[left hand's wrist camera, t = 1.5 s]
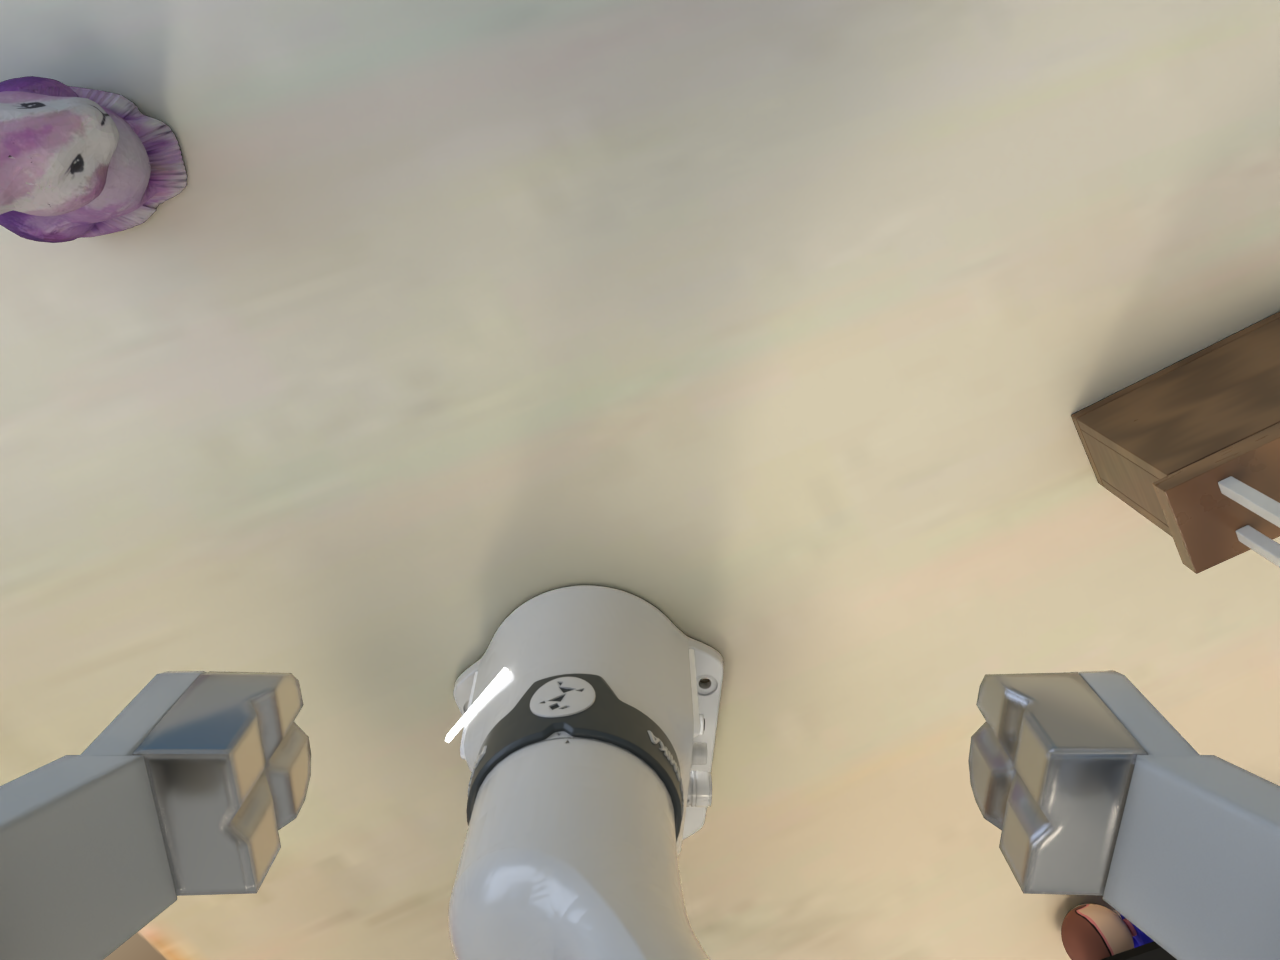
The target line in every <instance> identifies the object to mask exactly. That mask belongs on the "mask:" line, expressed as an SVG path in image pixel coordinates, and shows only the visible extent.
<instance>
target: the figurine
mask: <svg viewBox="0 0 1280 960" xmlns="http://www.w3.org/2000/svg"><path fill="white" fill-rule="evenodd" d="M179 149H180V147H179V145H178V141H177V139H176V138H175V134H174V133H173V132H172V130H171V128H170V127H169V126H167V125H166V124H165V123H163V122H162V121H159V120H157V119H154V118H151V117H148V116H145V115H143V114H142V113H141V112H140V111H139V110H138V107H137V106H136V105H135V104H134V103H133V102H131V101H130V100H128V99H126V98H125V97H123V96H122V95H119V94H114V93H110V92H105V91H100V90H93V89H86V88H79V87H70V86H66V85H65V84H63V83H61V82H59V81H56V80H53V79H48V78H41V77H33V76H31V77H22V78H14V79H10V80H6V81H3V82H0V225H2V226H3V227H5V228H7V229H8V230H10V231H12V232H13V233H15V234H17V235H19V236H20V237H23V238H26V239H30V240H34V241H39V242H51V243H57V242H66V241H71V240H74V239H76V238H79V237H95V236H100V235H105V234H109V233H114V232H118V231H123V230H126V229H128V228H132V227H134V226H136V225H139V224H141V223H144V222H145V221H146V220H147V219H148V218H149V217H150V216H151V215H152V214H153V213H154V212H155V211H156V208H157V207H158V205H159V203H163V202H164V201H166V200H168V199H170V198H172V197H174V196H176V195H178V194H179V193H180V192H181V191H182V190H183V189H184V188H185V187H186V179H187V175H186V171H185V166H184V165H183V163H184V162H183V161H182V156H181V151H180V150H179Z"/></svg>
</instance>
